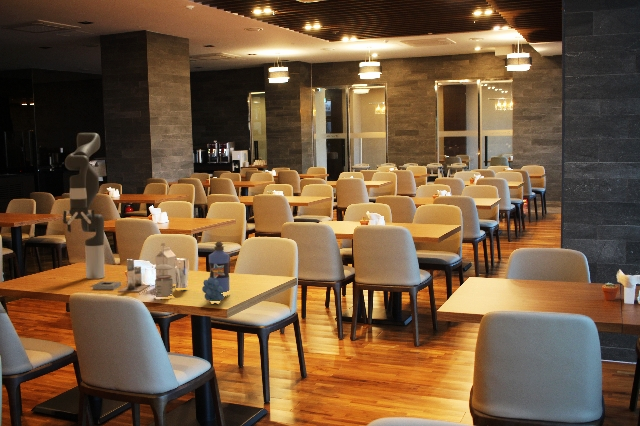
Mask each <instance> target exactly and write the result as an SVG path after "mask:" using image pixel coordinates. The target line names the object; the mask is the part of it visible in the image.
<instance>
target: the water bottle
mask: <svg viewBox="0 0 640 426" xmlns="http://www.w3.org/2000/svg"><path fill="white" fill-rule="evenodd" d="M214 245H215V246H214V251H213V252H212V253H210V254H208V263H209V269H210V271H209V277H211V278H213V279H214V280H218V281H219V286H221V287H222V288H223V292H227V291H229V290H230V274H229V267H230V254H229V253H227V252H225V251H224V250H225V249H224V247H225V246H224V243H223V242H221V241H216V243H214Z"/></svg>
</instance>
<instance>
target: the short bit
mask: <svg viewBox="0 0 640 426" xmlns="http://www.w3.org/2000/svg"><path fill="white" fill-rule="evenodd" d="M134 271H135V286H142V284H143V282H142V279H143V277H142V266H134Z"/></svg>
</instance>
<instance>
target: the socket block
mask: <svg viewBox="0 0 640 426" xmlns="http://www.w3.org/2000/svg"><path fill="white" fill-rule="evenodd" d="M92 285H93V287H92V290H93V291H95V290H96V291H97V290H98V291H114V290H116V289H119V288H120V287H121V286H122V281H107V280H106V281H103V280H102V281H99V282H97V283H94V284H92Z"/></svg>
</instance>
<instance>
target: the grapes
mask: <svg viewBox="0 0 640 426" xmlns="http://www.w3.org/2000/svg"><path fill="white" fill-rule="evenodd" d="M201 291H202V293H204V299H205V300H206V301H220V300H221V302H222V301H223V300H224V299H225V297H224V296H223V294H221V293H223V288H222V287H221V286H219V281H218V280H214V279H213V278H211V277H210V276H209V277H208V278H207V279H204V280H203V286H202V288H201Z"/></svg>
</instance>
